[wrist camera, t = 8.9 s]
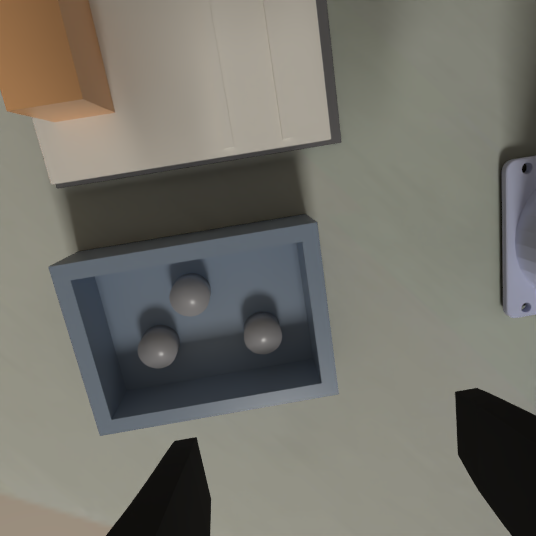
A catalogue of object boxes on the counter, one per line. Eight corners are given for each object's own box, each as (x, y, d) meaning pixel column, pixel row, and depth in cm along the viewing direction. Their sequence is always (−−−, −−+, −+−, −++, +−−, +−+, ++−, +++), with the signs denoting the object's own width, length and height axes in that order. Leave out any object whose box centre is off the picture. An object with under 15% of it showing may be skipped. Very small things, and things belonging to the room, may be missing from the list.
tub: (305, 214, 19) (317, 222, 16) (325, 363, 21) (338, 394, 18) (78, 251, 19) (48, 267, 16) (119, 398, 21) (99, 435, 18)
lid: (297, -81, 16) (320, -187, 11) (323, 141, 18) (352, 132, 13) (7, -38, 16) (-96, -127, 11) (68, 182, 18) (5, 189, 13)
